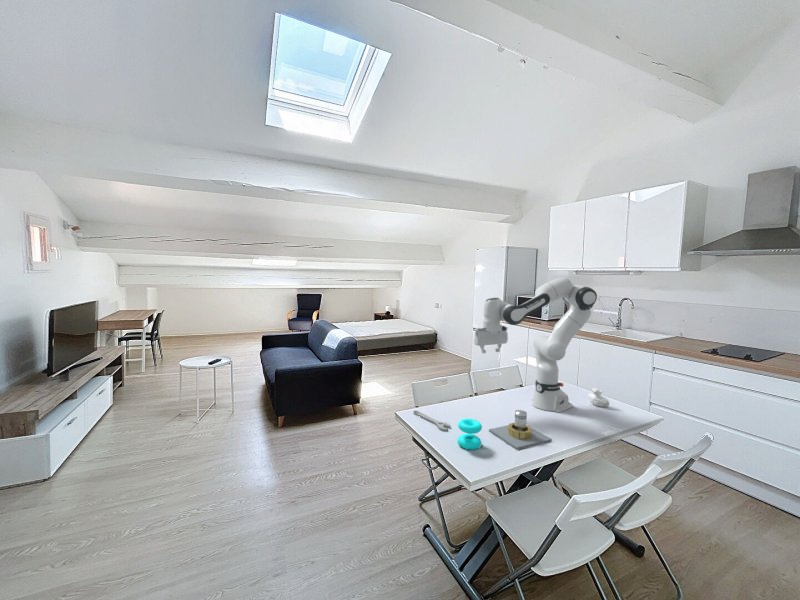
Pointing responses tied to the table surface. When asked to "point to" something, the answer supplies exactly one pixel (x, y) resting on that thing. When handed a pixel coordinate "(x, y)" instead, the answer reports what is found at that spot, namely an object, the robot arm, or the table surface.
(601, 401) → the duck figurine
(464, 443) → the donuts
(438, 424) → the adjustable wrench
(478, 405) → the table surface
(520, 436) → the brass ring
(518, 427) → the cylinder
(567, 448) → the table surface
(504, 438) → the plate
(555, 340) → the robot arm
